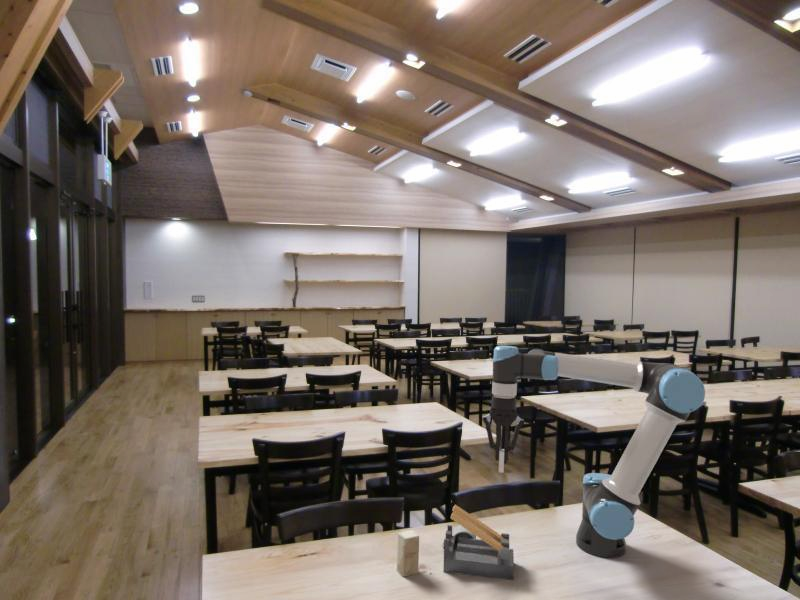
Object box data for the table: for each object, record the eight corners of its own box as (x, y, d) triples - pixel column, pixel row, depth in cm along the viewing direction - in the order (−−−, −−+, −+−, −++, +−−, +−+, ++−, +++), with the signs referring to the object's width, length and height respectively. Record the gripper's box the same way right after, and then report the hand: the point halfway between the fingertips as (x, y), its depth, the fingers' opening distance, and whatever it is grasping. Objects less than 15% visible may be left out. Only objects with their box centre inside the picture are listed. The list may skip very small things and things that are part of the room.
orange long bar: (506, 544, 158) (509, 539, 158) (506, 548, 156) (509, 543, 156) (452, 508, 162) (455, 503, 161) (451, 511, 159) (454, 506, 159)
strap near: (506, 553, 153) (509, 548, 153) (506, 557, 151) (509, 552, 151) (450, 515, 156) (453, 510, 156) (449, 519, 154) (453, 514, 154)
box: (403, 577, 150) (403, 538, 150) (396, 570, 154) (396, 532, 154) (419, 573, 153) (419, 535, 152) (412, 565, 156) (412, 529, 156)
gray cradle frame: (513, 562, 159) (513, 534, 159) (513, 580, 149) (514, 550, 149) (447, 554, 163) (447, 527, 163) (443, 571, 153) (444, 542, 153)
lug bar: (455, 543, 163) (455, 525, 163) (452, 559, 153) (452, 540, 153) (447, 542, 163) (447, 524, 163) (443, 558, 153) (444, 539, 153)
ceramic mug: (476, 545, 170) (476, 521, 170) (475, 557, 162) (475, 533, 162) (443, 542, 171) (443, 519, 171) (441, 555, 163) (441, 530, 163)
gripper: (525, 395, 165) (522, 469, 166) (483, 391, 168) (480, 464, 169) (525, 399, 158) (522, 477, 159) (482, 396, 161) (479, 472, 161)
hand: (501, 470), depth 164 cm, fingers closed
